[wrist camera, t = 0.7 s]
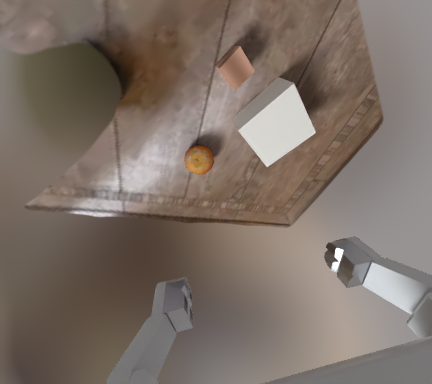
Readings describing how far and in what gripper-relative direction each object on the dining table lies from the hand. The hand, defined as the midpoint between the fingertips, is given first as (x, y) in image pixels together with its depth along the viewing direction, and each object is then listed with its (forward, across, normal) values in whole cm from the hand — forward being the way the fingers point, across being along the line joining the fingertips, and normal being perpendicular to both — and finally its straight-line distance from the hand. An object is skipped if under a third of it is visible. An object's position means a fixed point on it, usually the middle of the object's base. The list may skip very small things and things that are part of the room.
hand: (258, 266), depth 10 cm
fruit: (+44, +2, +5) cm, 45 cm away
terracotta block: (+39, -9, -14) cm, 42 cm away
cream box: (+42, -18, -1) cm, 46 cm away
